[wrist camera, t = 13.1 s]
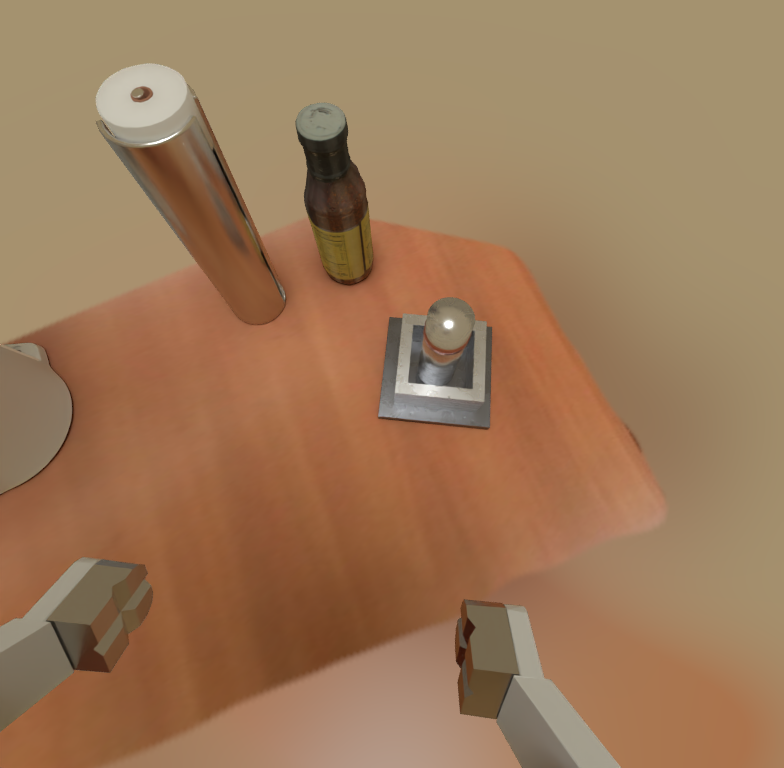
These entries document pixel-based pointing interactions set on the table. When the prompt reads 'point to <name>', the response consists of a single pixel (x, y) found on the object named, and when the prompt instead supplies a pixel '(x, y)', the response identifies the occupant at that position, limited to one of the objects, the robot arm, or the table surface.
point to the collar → (430, 402)
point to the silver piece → (189, 183)
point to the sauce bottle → (335, 194)
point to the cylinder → (444, 339)
